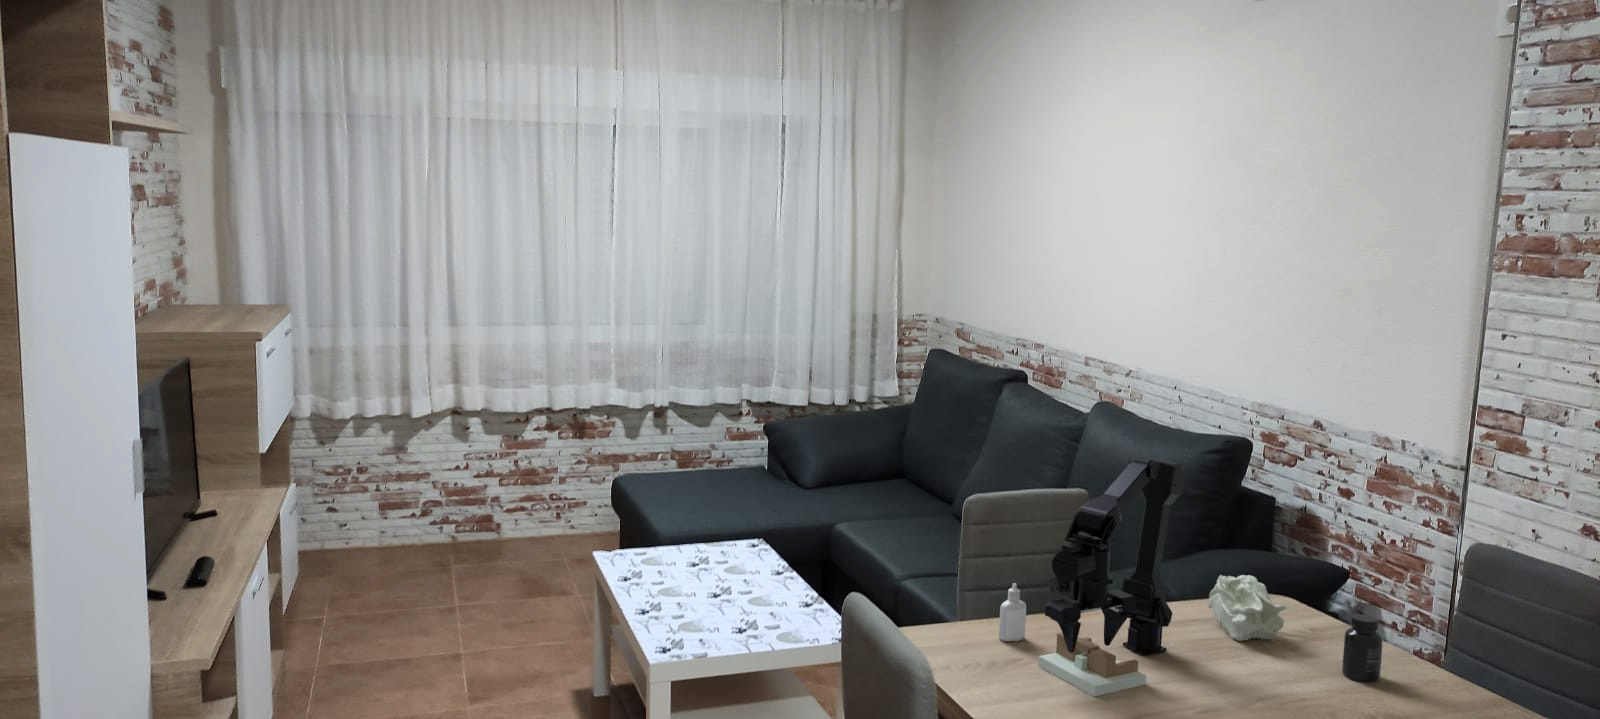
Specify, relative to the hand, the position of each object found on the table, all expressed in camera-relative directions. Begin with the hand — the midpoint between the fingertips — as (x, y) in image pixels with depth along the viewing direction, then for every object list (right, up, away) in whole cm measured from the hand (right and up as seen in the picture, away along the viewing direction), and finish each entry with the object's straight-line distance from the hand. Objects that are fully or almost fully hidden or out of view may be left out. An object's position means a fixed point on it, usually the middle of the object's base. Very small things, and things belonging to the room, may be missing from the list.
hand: (1088, 648), depth 225 cm
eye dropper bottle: (-11, -3, +19) cm, 23 cm away
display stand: (0, -5, +1) cm, 6 cm away
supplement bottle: (+55, -7, +4) cm, 55 cm away
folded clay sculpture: (+40, -4, +27) cm, 49 cm away
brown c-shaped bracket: (+2, -3, +3) cm, 5 cm away
